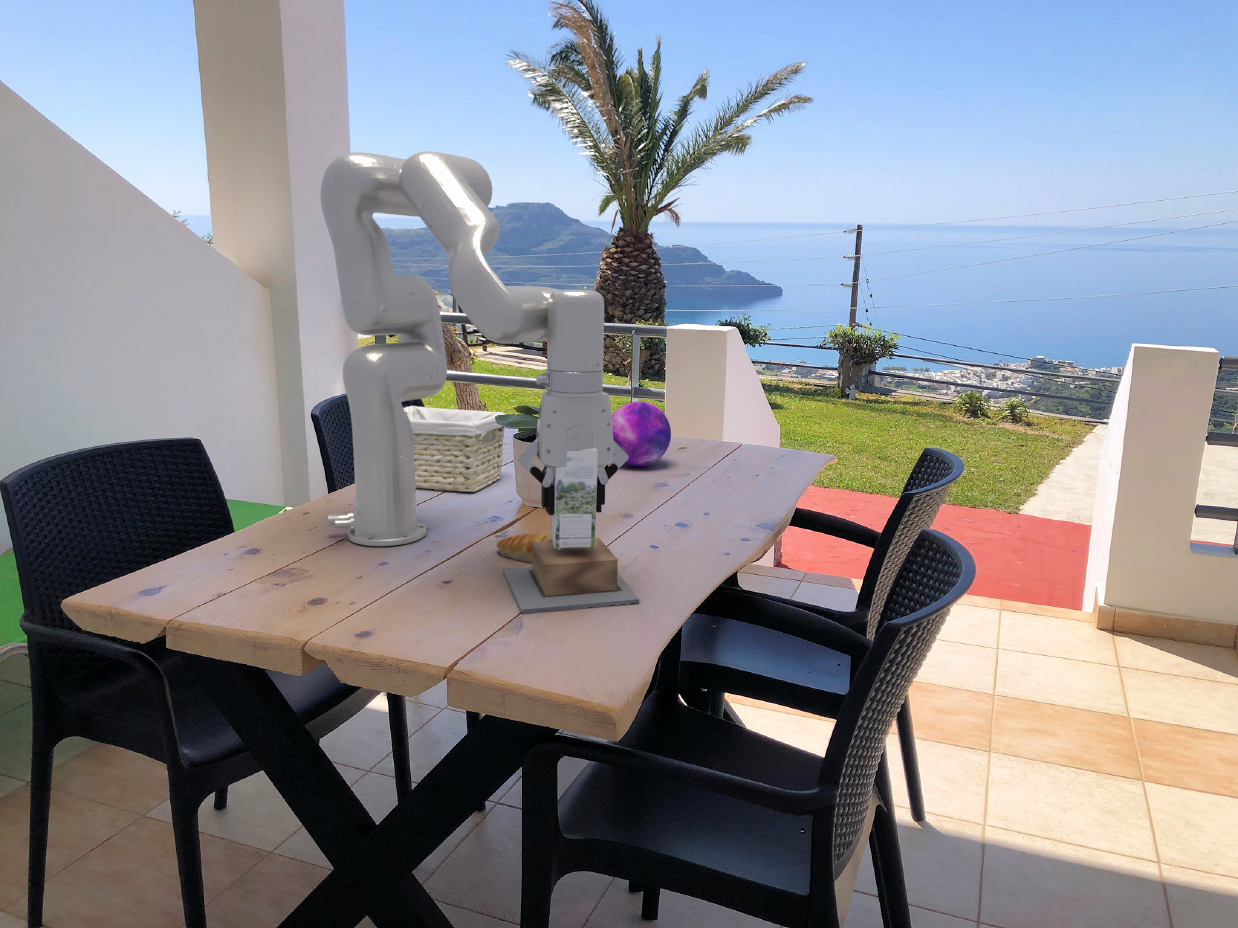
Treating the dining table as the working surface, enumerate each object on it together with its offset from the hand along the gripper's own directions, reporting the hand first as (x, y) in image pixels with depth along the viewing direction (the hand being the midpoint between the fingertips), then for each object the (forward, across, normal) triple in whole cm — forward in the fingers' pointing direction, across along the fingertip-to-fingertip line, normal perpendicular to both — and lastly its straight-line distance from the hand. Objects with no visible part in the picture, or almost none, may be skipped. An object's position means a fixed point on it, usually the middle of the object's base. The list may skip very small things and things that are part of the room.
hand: (573, 510), depth 118 cm
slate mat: (+11, -1, -1) cm, 11 cm away
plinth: (+11, 0, 0) cm, 11 cm away
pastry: (+11, -4, +14) cm, 18 cm away
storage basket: (+12, -13, +65) cm, 67 cm away
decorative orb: (+11, +32, +72) cm, 79 cm away
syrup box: (+5, 0, 0) cm, 5 cm away
